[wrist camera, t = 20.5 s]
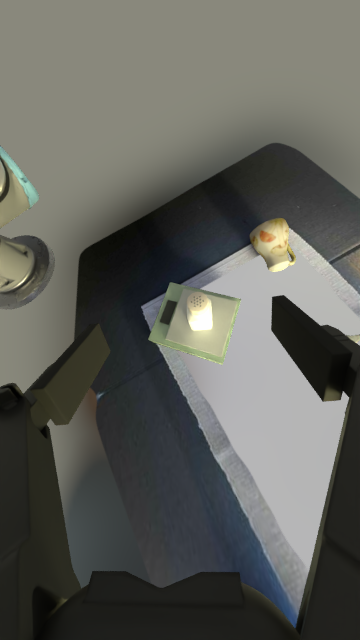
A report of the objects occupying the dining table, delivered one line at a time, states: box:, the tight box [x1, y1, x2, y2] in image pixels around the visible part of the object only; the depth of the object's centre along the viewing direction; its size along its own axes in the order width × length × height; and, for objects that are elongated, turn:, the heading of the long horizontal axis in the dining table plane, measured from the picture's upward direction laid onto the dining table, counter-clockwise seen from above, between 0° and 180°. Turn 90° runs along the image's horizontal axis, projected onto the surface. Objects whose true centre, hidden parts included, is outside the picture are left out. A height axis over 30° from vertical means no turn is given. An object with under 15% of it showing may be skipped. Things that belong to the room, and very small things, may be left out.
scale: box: [148, 282, 241, 364], centre depth 40 cm, size 15×13×3 cm
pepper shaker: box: [187, 292, 212, 330], centre depth 33 cm, size 4×4×10 cm
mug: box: [250, 218, 296, 272], centre depth 40 cm, size 8×10×10 cm
